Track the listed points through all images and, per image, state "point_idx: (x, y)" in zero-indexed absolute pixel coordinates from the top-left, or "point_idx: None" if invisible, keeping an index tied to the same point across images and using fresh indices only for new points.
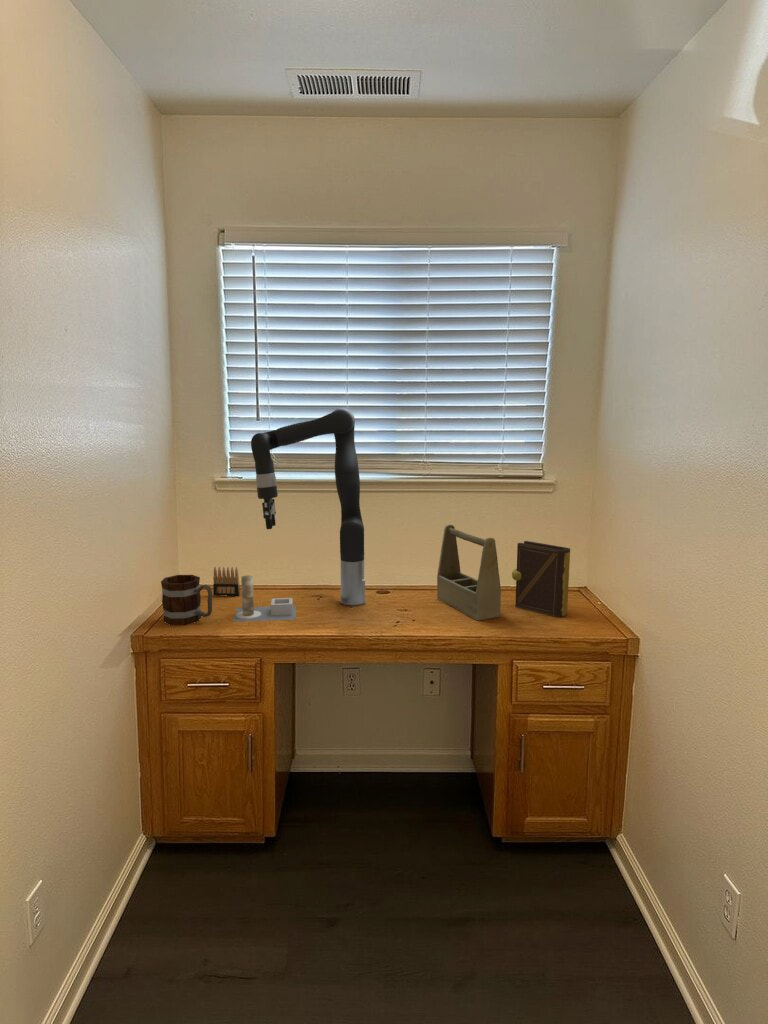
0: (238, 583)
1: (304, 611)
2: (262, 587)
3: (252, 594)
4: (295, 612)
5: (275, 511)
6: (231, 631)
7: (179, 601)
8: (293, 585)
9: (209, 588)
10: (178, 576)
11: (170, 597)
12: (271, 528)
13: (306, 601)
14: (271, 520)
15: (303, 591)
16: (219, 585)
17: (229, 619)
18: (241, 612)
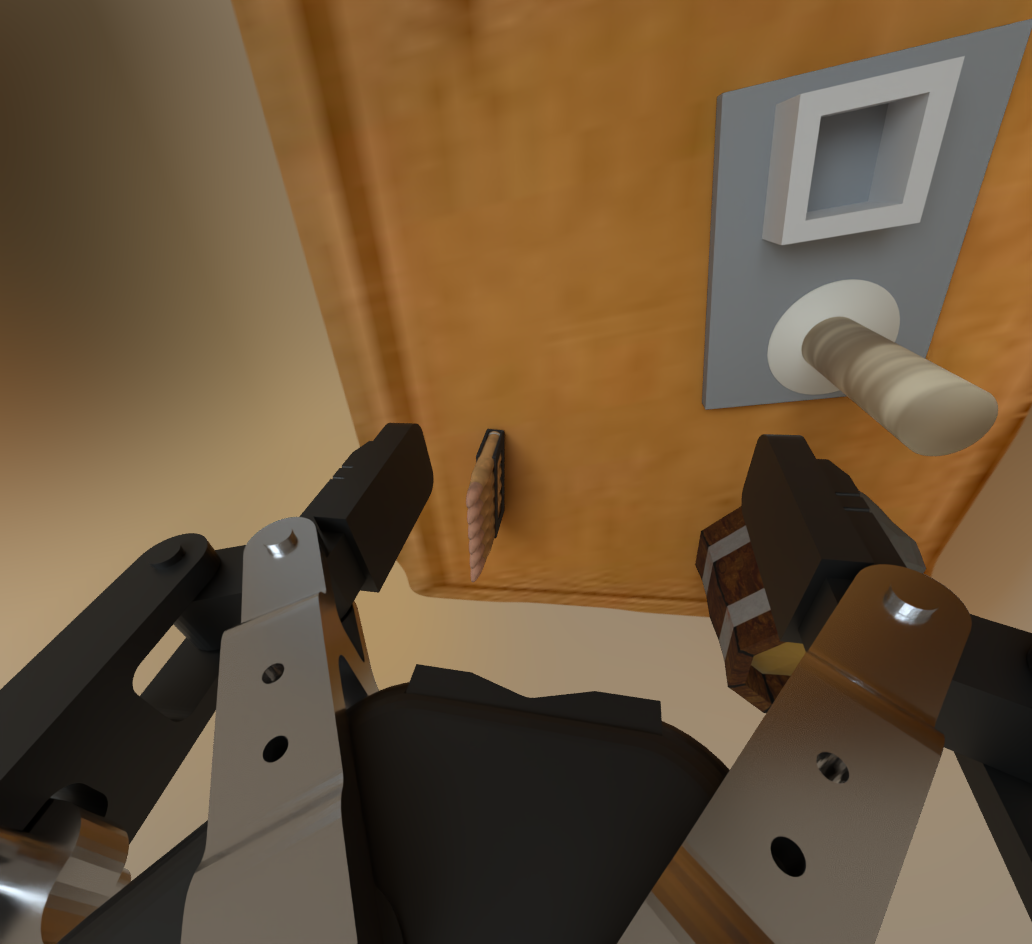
0: (488, 458)
1: (773, 18)
2: (371, 363)
3: (907, 349)
4: (875, 59)
5: (138, 566)
6: (982, 373)
7: None
8: (302, 216)
9: (917, 561)
10: (744, 681)
11: None
12: (797, 441)
13: (571, 55)
14: (834, 534)
15: (387, 127)
16: (497, 516)
17: (804, 411)
18: (791, 377)
